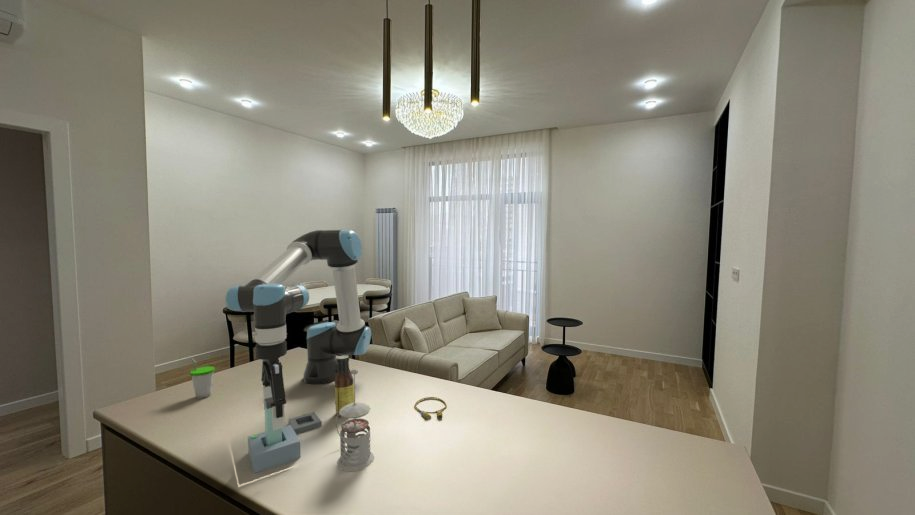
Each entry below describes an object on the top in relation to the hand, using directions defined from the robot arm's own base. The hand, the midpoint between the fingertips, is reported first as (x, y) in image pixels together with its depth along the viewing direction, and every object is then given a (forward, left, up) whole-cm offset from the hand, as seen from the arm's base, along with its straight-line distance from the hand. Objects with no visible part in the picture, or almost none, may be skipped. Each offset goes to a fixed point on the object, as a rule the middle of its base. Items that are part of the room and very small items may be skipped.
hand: (273, 417), depth 99 cm
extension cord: (-49, +2, -11) cm, 51 cm away
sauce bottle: (-24, -12, -11) cm, 29 cm away
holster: (-11, -12, -11) cm, 19 cm away
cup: (+14, -59, -11) cm, 61 cm away
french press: (-17, +14, -11) cm, 25 cm away
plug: (0, 0, -10) cm, 10 cm away
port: (0, 0, -11) cm, 11 cm away
